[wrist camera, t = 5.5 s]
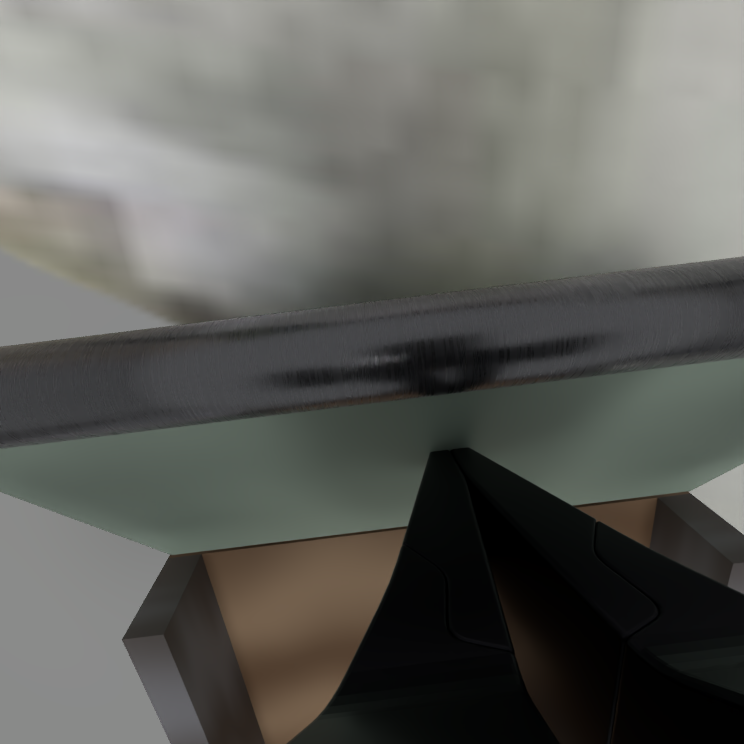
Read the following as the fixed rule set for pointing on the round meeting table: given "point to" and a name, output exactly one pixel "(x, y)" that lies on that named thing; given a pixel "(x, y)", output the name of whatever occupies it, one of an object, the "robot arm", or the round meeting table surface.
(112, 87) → the round meeting table surface
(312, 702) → the brown and grey drawer
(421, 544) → the robot arm
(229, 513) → the panel
